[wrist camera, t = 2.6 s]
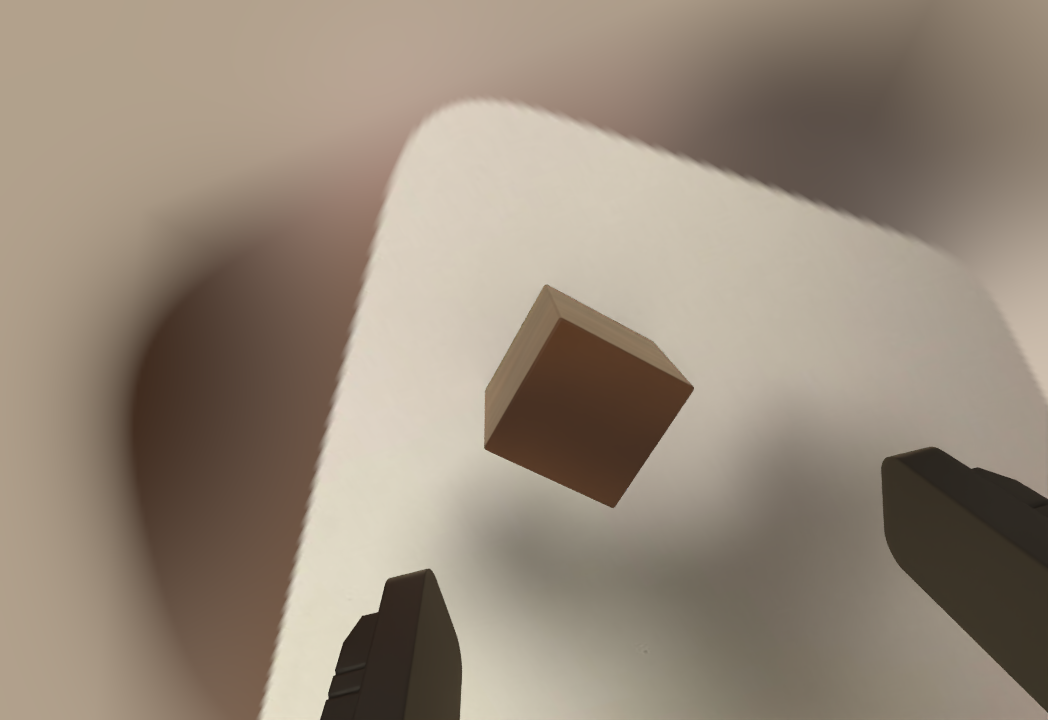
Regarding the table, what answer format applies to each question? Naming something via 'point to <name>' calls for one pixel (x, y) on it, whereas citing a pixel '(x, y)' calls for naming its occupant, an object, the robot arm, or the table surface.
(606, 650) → the table surface
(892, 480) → the robot arm
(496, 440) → the block
